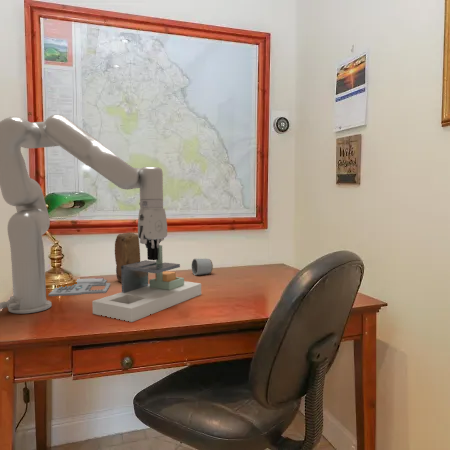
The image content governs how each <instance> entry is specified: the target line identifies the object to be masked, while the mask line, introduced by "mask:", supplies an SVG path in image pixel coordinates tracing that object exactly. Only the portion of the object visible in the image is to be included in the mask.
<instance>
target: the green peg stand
mask: <svg viewBox="0 0 450 450" xmlns="http://www.w3.org/2000/svg"><path fill="white" fill-rule="evenodd" d="M155 261H156V265H157V264H161V263H164V262H163V245H161V244H159V247H158V260H155ZM156 275H157V280H156V278H151V279H148V284H149V287H153V288H159V289H166V290H170V289H173V288H176V287H179V286H182V285H184V281H185V278H184V277H181V276H180V277H179V276H176V280H173V281H170V282H165V281H163V272H160V273H156Z"/></svg>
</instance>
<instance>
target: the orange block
mask: <svg viewBox="0 0 450 450" xmlns="http://www.w3.org/2000/svg"><path fill="white" fill-rule="evenodd" d="M154 274H155V278H156V280H157V275H156V273H154ZM176 277H177V272H176V271H171V270H168V271H164V272H163V281H165V282H170V281H173V280H176Z"/></svg>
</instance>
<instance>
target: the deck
mask: <svg viewBox="0 0 450 450" xmlns="http://www.w3.org/2000/svg"><path fill="white" fill-rule="evenodd" d="M198 296H202V283H199V282H192V281H186V280H184V285H182V286H179V287H176V288H173V289H170V290H166V289H159V288H153V287H149V283H148V286H146V287H142V288H139V289H136V290H133V291H129V292H126V293H122V291H121V292H117V293H114V294H112V295H107V296H105V297H102V298H98V299H95V300H92V315H97V316H101V315H102V316H101V317H105V316H107V317H106V318H110V317H111V318H110V319H114V318H116V319H115V320H119V319H120V321H124V320H125V322H128V321H129V323H133V322H136V321H138V320H141V319H143V318H146V317H148V316H150V314H151V315H153V314H156V313H158V312H161V311H163V310H165V309H167V308H168V309H169V308H171V307H173V306H177V305H179V304H181V303H184V302H187V301H188V300H192V299H193V298H196V297H198Z"/></svg>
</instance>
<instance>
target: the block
mask: <svg viewBox="0 0 450 450" xmlns="http://www.w3.org/2000/svg"><path fill="white" fill-rule="evenodd" d="M140 246H141V245H140V238H139V237H138V233H134V232H133V233H132V232H124V233H118V235H116V238H115V241H114V258H115V259H114V260H115V266H116V269H115V271H116V279H117V281H118V282H121V283H122V278H121V266H123V265H127V264H132V263H136V262H141V249H140Z"/></svg>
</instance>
